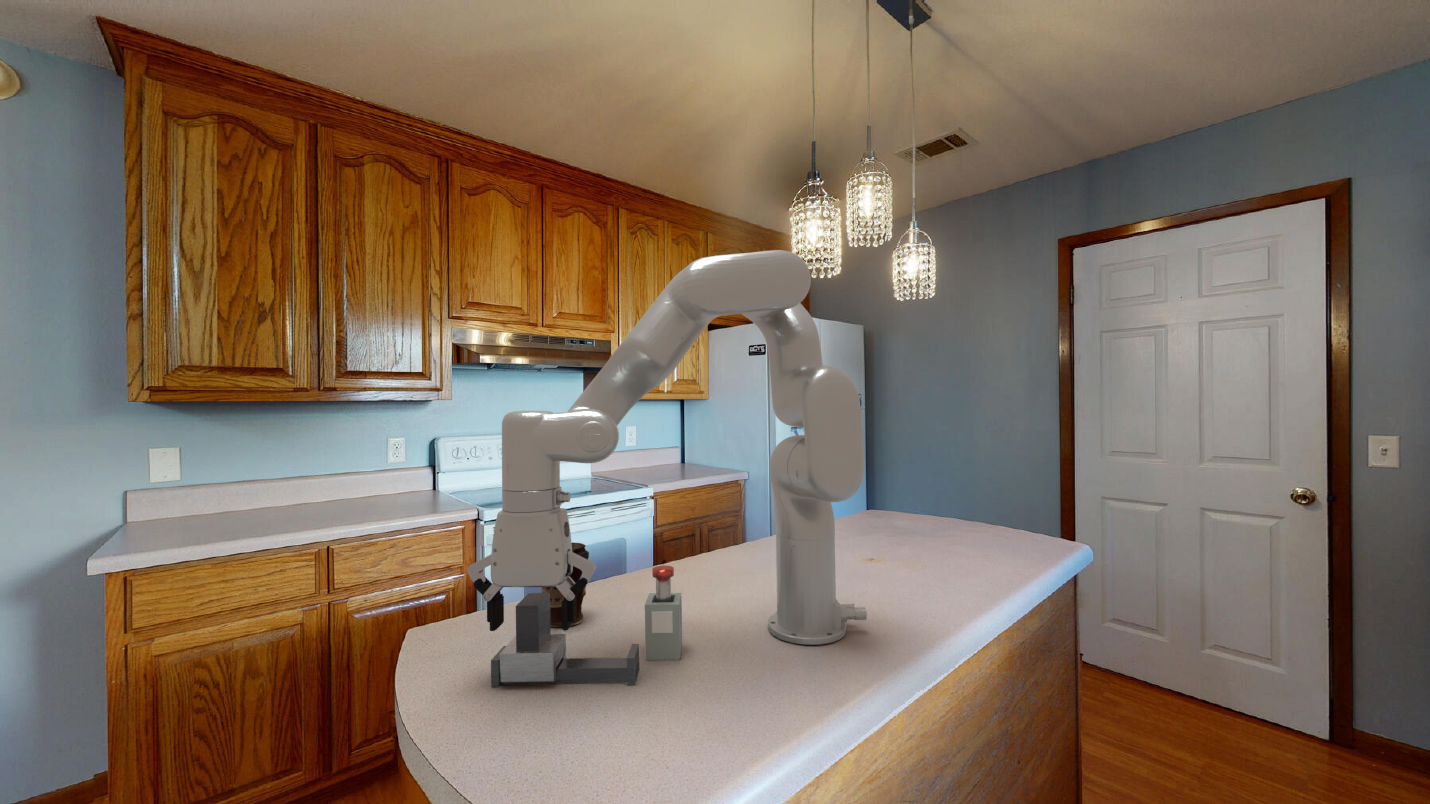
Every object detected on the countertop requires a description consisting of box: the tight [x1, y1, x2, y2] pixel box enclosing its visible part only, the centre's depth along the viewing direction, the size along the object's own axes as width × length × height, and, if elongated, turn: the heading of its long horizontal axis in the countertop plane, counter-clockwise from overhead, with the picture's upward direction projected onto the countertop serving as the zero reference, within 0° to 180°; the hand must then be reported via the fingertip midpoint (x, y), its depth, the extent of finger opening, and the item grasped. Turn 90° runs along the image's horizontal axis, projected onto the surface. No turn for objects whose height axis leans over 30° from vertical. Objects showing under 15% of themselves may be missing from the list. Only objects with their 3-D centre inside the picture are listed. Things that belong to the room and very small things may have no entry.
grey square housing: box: [644, 592, 683, 661], centre depth 82 cm, size 5×5×8 cm
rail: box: [490, 643, 640, 689], centre depth 75 cm, size 19×4×4 cm, turn 90°
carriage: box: [500, 592, 567, 682], centre depth 75 cm, size 7×6×10 cm
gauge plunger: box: [651, 565, 675, 603], centre depth 82 cm, size 3×3×7 cm
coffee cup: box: [540, 542, 590, 628], centre depth 95 cm, size 9×8×13 cm
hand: (532, 626), depth 75 cm, fingers open, 9 cm apart
